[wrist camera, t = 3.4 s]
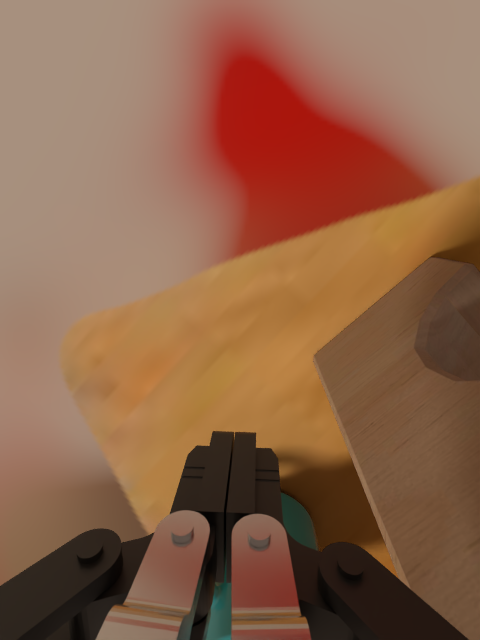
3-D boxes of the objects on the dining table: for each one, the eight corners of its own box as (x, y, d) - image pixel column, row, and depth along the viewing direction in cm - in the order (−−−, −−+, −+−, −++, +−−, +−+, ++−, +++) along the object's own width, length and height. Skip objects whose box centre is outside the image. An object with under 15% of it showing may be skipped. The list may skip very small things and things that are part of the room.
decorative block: (433, 252, 24) (1145, 374, 5) (481, 312, 25) (1241, 619, 6) (307, 354, 26) (441, 712, 7) (355, 405, 27) (588, 844, 8)
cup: (236, 442, 29) (223, 575, 18) (335, 529, 31) (378, 698, 20) (164, 504, 31) (113, 658, 20) (261, 583, 33) (263, 762, 22)
